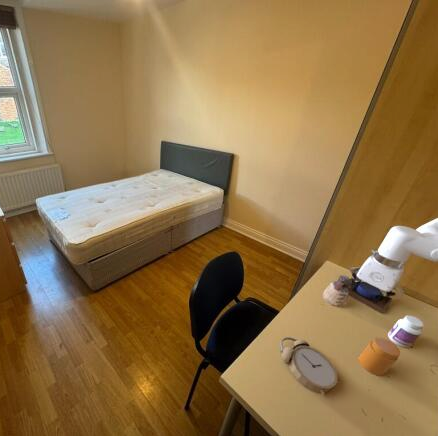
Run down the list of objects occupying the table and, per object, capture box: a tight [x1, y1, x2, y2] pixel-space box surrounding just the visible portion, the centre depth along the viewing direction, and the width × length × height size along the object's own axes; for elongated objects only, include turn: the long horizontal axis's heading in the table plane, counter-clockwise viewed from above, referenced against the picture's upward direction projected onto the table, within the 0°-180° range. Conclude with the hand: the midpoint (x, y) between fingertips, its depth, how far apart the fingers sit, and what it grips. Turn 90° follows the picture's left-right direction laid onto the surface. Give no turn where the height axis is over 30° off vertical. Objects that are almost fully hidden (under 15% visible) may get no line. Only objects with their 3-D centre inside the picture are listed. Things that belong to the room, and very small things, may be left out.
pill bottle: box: [387, 315, 425, 348], centre depth 73 cm, size 5×5×10 cm
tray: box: [348, 277, 394, 314], centre depth 90 cm, size 13×9×2 cm
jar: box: [357, 337, 401, 377], centre depth 66 cm, size 6×6×10 cm
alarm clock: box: [280, 336, 341, 397], centre depth 68 cm, size 11×5×15 cm
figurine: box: [322, 275, 352, 308], centre depth 87 cm, size 7×7×12 cm
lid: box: [357, 281, 382, 299], centre depth 89 cm, size 7×7×2 cm
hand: (365, 294), depth 90 cm, fingers closed on lid, 6 cm apart
